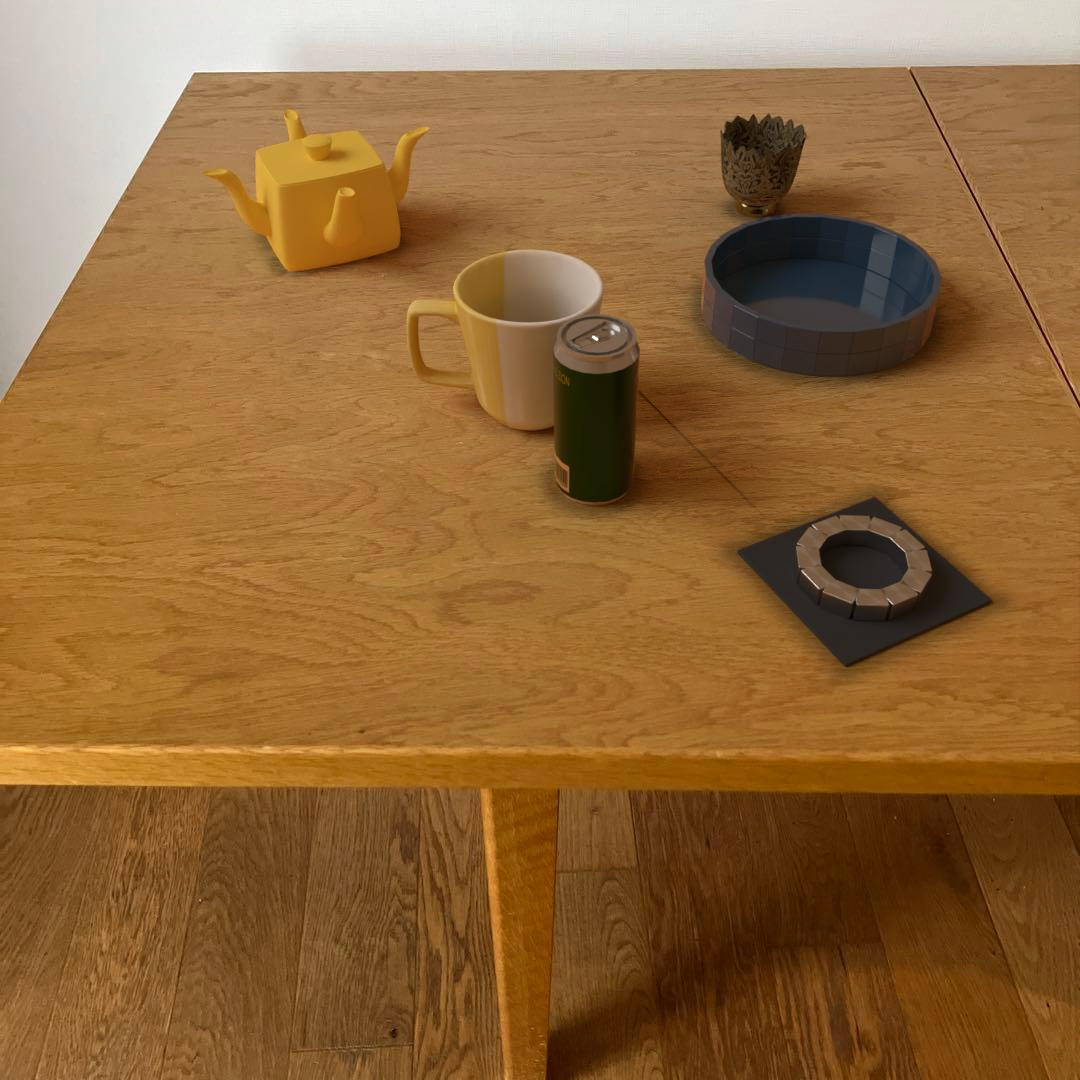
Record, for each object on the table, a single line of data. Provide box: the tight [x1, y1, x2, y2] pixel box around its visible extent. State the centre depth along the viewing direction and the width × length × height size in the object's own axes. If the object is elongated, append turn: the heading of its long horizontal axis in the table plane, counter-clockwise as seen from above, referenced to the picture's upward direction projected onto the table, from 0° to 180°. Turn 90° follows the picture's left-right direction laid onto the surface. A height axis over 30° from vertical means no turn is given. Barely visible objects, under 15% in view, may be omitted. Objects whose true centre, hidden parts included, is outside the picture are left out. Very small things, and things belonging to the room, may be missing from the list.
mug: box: [405, 248, 605, 432], centre depth 85 cm, size 14×10×10 cm
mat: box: [736, 496, 993, 668], centre depth 74 cm, size 11×11×1 cm
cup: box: [719, 113, 807, 219], centre depth 107 cm, size 8×7×8 cm
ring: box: [793, 515, 932, 621], centre depth 74 cm, size 8×8×1 cm
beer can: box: [553, 313, 641, 506], centre depth 78 cm, size 5×5×12 cm
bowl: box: [700, 213, 943, 378], centre depth 95 cm, size 18×18×4 cm
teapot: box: [200, 108, 430, 272], centre depth 104 cm, size 15×14×10 cm
